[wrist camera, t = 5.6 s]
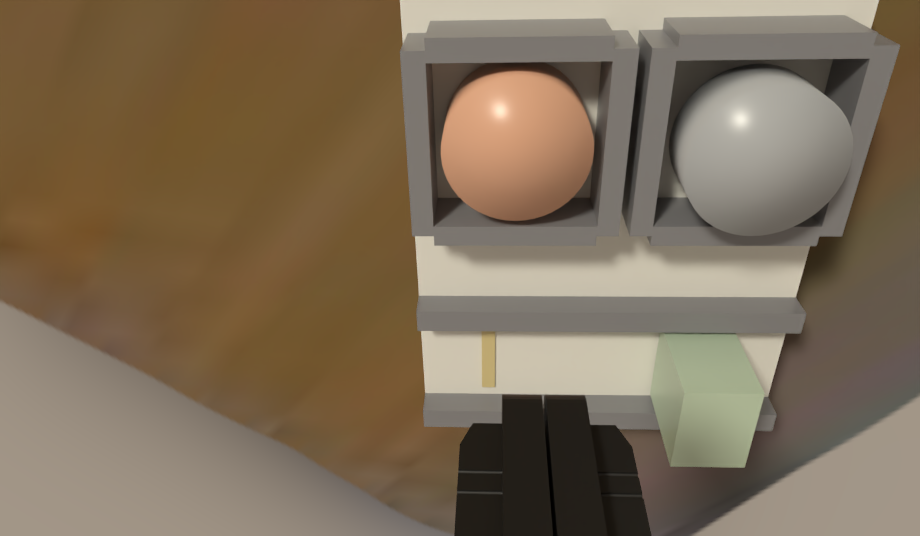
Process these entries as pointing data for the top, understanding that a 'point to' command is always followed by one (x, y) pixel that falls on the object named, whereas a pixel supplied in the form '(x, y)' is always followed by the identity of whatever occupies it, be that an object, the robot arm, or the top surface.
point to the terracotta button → (516, 140)
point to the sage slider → (705, 399)
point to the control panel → (613, 199)
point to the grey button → (759, 149)
